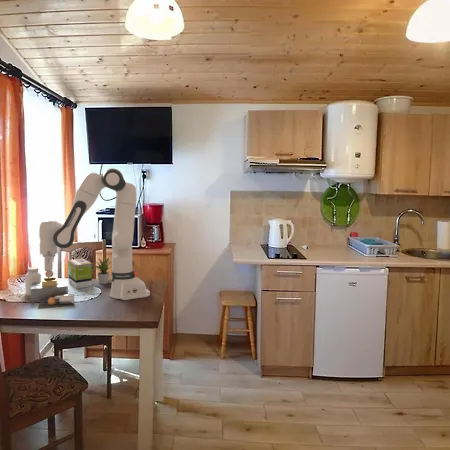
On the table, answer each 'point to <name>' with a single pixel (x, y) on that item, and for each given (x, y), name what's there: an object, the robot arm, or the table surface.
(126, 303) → the table surface
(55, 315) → the table surface
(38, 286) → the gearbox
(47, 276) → the bead
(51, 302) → the bead
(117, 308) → the table surface
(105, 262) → the house plant
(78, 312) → the table surface
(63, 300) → the spout can
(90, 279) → the tea box
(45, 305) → the mat
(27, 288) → the pill bottle
